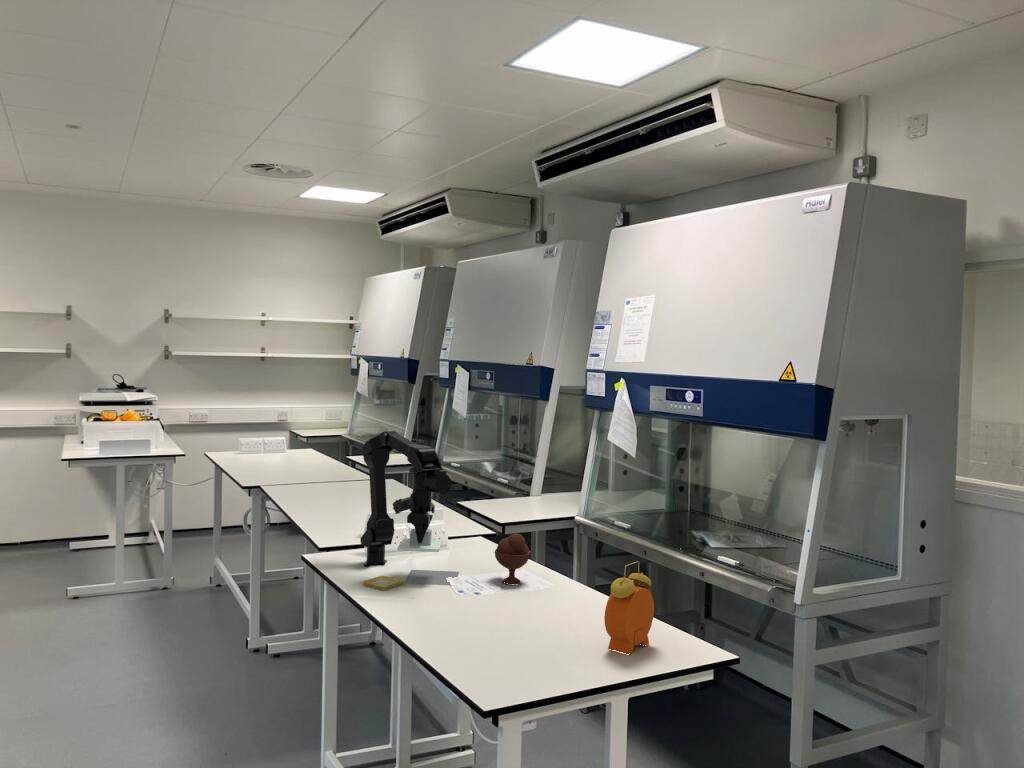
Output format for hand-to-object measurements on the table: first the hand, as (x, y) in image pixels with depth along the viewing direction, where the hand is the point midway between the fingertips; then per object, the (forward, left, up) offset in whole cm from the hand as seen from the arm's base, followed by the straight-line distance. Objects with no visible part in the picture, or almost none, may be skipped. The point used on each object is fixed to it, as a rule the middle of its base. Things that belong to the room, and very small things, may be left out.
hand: (420, 541), depth 235 cm
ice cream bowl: (-3, +28, -12) cm, 30 cm away
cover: (0, 0, -2) cm, 2 cm away
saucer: (+7, -9, -13) cm, 17 cm away
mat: (-3, +4, -12) cm, 13 cm away
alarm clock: (+47, +57, -12) cm, 75 cm away
